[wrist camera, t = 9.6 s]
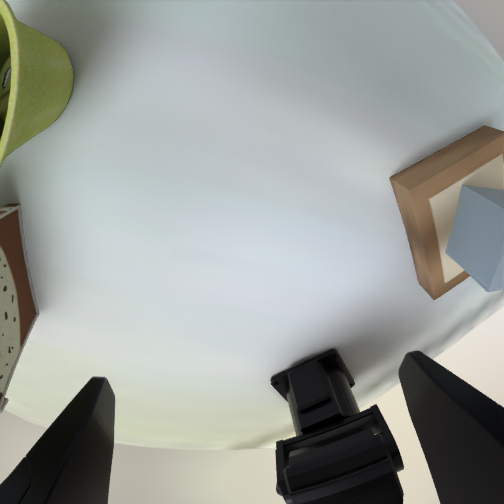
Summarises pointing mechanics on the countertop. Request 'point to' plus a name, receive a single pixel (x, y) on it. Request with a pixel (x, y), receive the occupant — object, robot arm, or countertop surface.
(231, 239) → the countertop surface
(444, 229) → the base
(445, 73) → the countertop surface
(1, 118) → the plant pot
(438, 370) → the robot arm
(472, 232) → the block
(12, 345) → the food container
